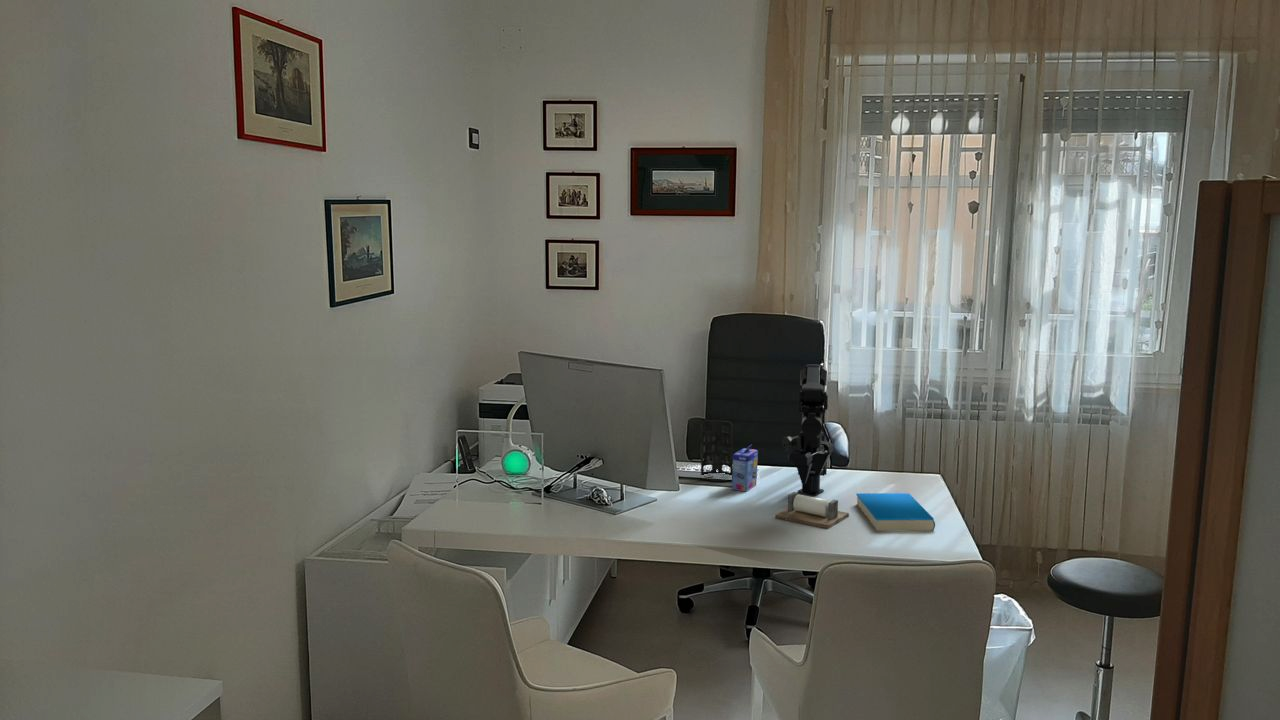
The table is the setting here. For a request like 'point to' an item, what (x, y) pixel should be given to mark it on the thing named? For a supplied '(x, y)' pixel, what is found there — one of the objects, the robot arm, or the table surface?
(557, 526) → the table surface
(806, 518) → the roll holder
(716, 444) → the holder
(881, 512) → the book
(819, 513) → the cylinder
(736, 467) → the blue purple upright box
